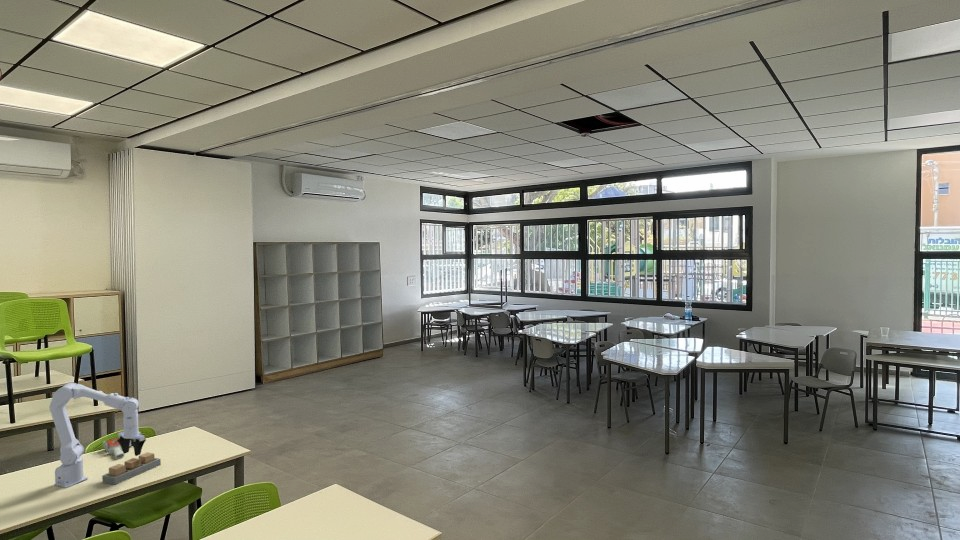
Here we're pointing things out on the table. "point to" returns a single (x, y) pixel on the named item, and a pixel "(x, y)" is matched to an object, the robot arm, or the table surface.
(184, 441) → the table surface
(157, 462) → the pocket tray
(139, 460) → the walnut block
